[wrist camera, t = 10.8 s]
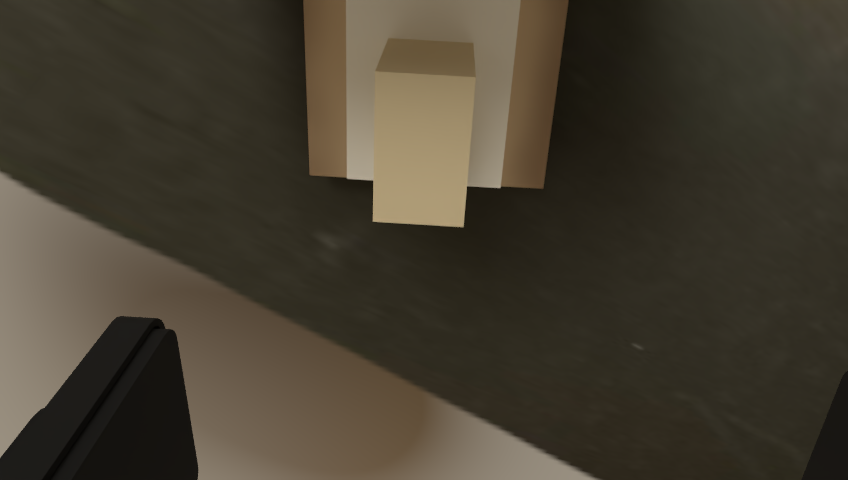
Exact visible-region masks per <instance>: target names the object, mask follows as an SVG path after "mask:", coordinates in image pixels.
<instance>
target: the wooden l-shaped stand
mask: <svg viewBox="0 0 848 480" xmlns="http://www.w3.org/2000/svg"><path fill="white" fill-rule="evenodd" d="M568 2H569V0H521V2H520V12H519V21H518V30H517V39H516V49H515V58H514V67H513V77H512V86H511V95H510V105H509V114H508V123H507V133H506V142H505V151H504V160H503V170H502V179H501V186H505V187H523V188H540V189H543V187H544V179H545V172H546V164H547V157H548V150H549V142H550V135H551V127H552V120H553V113H554V105H555V98H556V90H557V83H558V76H559V68H560V61H561V53H562V46H563V39H564V31H565V24H566V16H567V9H568ZM303 6H304V33H305V61H306V88H307V115H308V142H309V169H310V175H313V176H331V177H347V107H346V0H303Z"/></svg>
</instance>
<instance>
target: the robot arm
mask: <svg viewBox="0 0 848 480" xmlns="http://www.w3.org/2000/svg"><path fill="white" fill-rule="evenodd" d="M197 479H198V463H197V457H196V451H195V446H194V439H193V433H192V427H191V421H190V414H189V409H188V402H187V396H186V390H185V384H184V378H183V372H182V366H181V359H180V353H179V347H178V341H177V336H176V333H175V332H174V331H173V330H171V329H165V326H164V324H163V322H162V320H160V319H158V318H142V317H124V316H120V317H117V318H116V319H114V320H113V321H112V322H111V324H110V325H109V326H108V328H107V329H106V330H105V331H104V333H103V334H102V335H101V336H100V338H99V339H98V340H97V342H96V343H95V344H94V346H93V347H92V348H91V349H90V351H89V352H88V353H87V354H86V356H85V357H84V358H83V360H82V361H81V362H80V364H79V365H78V366H77V367H76V369H75V370H74V371H73V372H72V374H71V375H70V376H69V378H68V379H67V380H66V381H65V383H64V384H63V385H62V386H61V388H60V389H59V390H58V392H57V393H56V394H55V395H54V397H53V398H52V399H51V401H50V402H49V403H48V404H47V406H46V407H45V408H43V409H41V410H40V411H39V412H38V413H36V414H35V415H34V416H33V417H32V419H31V420H30V421H29V422H28V424H27V425H26V426H25V428H24V429H23V430H22V431H21V432H20V434H19V435H18V437H16V439H15V440H14V442H13V443H12V444H11V445H10V446H9V448H8V449H7V450H6V451H5V453H4V454H3V455H2V456H1V458H0V480H197ZM802 480H848V371H847V372H846V373H845V374H844V375H843V377H842V379H841V381H840V384H839V387H838V389H837V392H836V394H835V397H834V399H833V402H832V404H831V407H830V409H829V412H828V414H827V417H826V419H825V422H824V424H823V427H822V429H821V432H820V435H819V437H818V440H817V442H816V445H815V447H814V450H813V452H812V455H811V457H810V460H809V462H808V465H807V467H806V470H805V472H804V475H803V477H802Z"/></svg>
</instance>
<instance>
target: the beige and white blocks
mask: <svg viewBox="0 0 848 480" xmlns="http://www.w3.org/2000/svg"><path fill="white" fill-rule="evenodd" d="M520 2H521V0H346V107H347V179H357V180H373V222H387V223H403V224H419V225H435V226H452V227H464V216H465V204H466V192H467V186H472V187H489V188H501V179H502V170H503V160H504V151H505V142H506V133H507V123H508V114H509V105H510V95H511V86H512V77H513V67H514V58H515V49H516V39H517V30H518V21H519V12H520Z"/></svg>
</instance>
